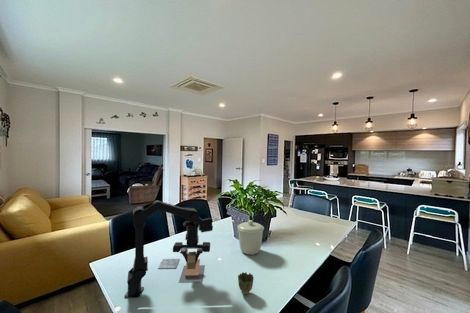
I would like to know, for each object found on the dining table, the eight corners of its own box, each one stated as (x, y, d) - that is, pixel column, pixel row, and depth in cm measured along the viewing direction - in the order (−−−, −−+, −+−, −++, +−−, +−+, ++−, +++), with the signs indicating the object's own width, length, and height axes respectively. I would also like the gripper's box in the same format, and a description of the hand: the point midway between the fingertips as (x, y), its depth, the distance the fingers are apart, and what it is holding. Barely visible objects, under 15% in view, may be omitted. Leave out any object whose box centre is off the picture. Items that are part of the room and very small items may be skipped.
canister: (267, 257, 133) (267, 224, 133) (239, 258, 130) (240, 225, 130) (259, 244, 151) (259, 215, 151) (234, 246, 148) (235, 216, 148)
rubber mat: (202, 283, 105) (202, 282, 105) (178, 283, 104) (178, 282, 104) (204, 266, 121) (204, 265, 121) (184, 266, 120) (184, 265, 120)
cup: (235, 296, 96) (235, 279, 96) (240, 286, 103) (240, 270, 103) (250, 300, 94) (251, 282, 93) (255, 290, 100) (255, 274, 100)
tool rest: (176, 269, 117) (176, 267, 117) (157, 269, 116) (157, 268, 116) (179, 260, 127) (179, 258, 127) (162, 260, 126) (162, 258, 126)
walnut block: (195, 269, 106) (195, 255, 106) (187, 269, 106) (187, 255, 106) (196, 264, 110) (196, 251, 110) (188, 264, 110) (188, 251, 110)
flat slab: (198, 274, 108) (199, 259, 114) (184, 275, 108) (186, 259, 114) (198, 276, 110) (199, 260, 116) (185, 276, 109) (187, 261, 115)
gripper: (211, 227, 116) (210, 255, 117) (177, 227, 115) (177, 255, 115) (209, 235, 105) (209, 266, 105) (172, 235, 104) (172, 266, 104)
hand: (191, 263), depth 108 cm, fingers closed on walnut block, 4 cm apart
